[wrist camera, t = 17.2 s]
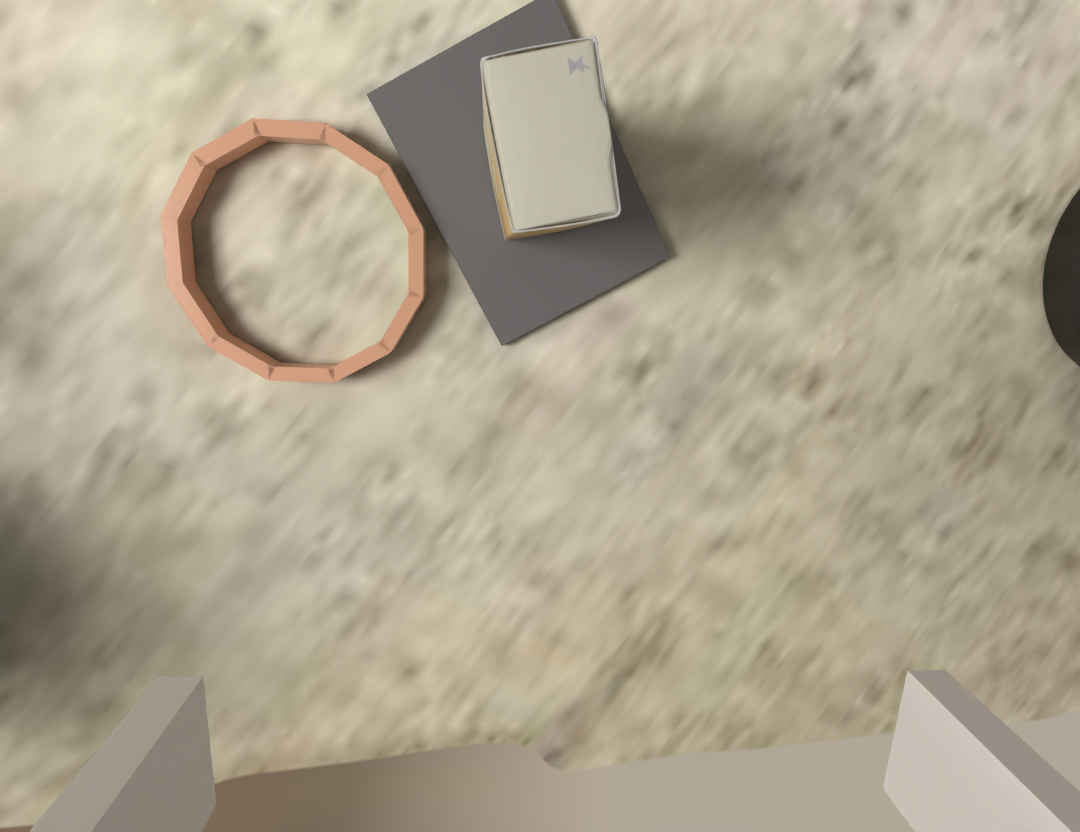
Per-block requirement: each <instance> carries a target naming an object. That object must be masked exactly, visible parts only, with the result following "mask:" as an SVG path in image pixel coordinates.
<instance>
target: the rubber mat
mask: <svg viewBox="0 0 1080 832" xmlns="http://www.w3.org/2000/svg"><path fill="white" fill-rule="evenodd" d="M567 40H573V37H572V35H571V32H570V30H569V28H568V26H567V23H566V21H565V19H564V17H563V14H562V12H561V10H560V8H559V5H558V3H557V1H556V0H534V1H533V2H531V3H529V4H527V5H525V6H524V7H522V8H520V9H518V10H517V11H515V12H513V13H511V14H509V15H508V16H506V17H504V18H502V19H500V20H499V21H497V22H495V23H493V24H491V25H490V26H488V27H486V28H484V29H483V30H481V31H479V32H477V33H475V34H474V35H472V36H470V37H468V38H466V39H465V40H463V41H461V42H459V43H457V44H456V45H454V46H452V47H450V48H449V49H447V50H445V51H443V52H441V53H440V54H438V55H436V56H434V57H432V58H431V59H429V60H427V61H425V62H423V63H422V64H420V65H418V66H416V67H415V68H413V69H411V70H409V71H407V72H406V73H404V74H402V75H400V76H398V77H397V78H395V79H393V80H391V81H389V82H388V83H386V84H384V85H382V86H381V87H379V88H377V89H375V90H373V91H372V92H370V93H368V94H367V96H368V98H369V100H370V101H371V103H372V105H373V107H374V109H375V111H376V113H377V114H378V116H379V118H380V120H381V122H382V124H383V126H384V127H385V129H386V131H387V133H388V135H389V137H390V139H391V140H392V142H393V144H394V146H395V148H396V150H397V152H398V154H399V155H400V157H401V159H402V161H403V163H404V165H405V167H406V168H407V170H408V172H409V174H410V176H411V178H412V180H413V181H414V183H415V185H416V187H417V189H418V191H419V193H420V195H421V196H422V198H423V200H424V202H425V204H426V206H427V208H428V209H429V211H430V213H431V215H432V217H433V219H434V221H435V222H436V224H437V226H438V228H439V230H440V232H441V234H442V235H443V237H444V239H445V241H446V243H447V245H448V247H449V249H450V250H451V252H452V254H453V256H454V258H455V260H456V262H457V263H458V265H459V267H460V269H461V271H462V273H463V275H464V276H465V278H466V280H467V282H468V284H469V286H470V288H471V290H472V291H473V293H474V295H475V297H476V299H477V301H478V303H479V304H480V306H481V308H482V310H483V312H484V314H485V316H486V317H487V319H488V321H489V323H490V325H491V327H492V329H493V330H494V332H495V334H496V336H497V338H498V340H499V342H500V344H501V345H502V346H503V345H504V344H506V343H508V342H510V341H512V340H514V339H516V338H518V337H520V336H521V335H523V334H525V333H527V332H529V331H531V330H533V329H535V328H537V327H538V326H540V325H542V324H544V323H546V322H548V321H550V320H552V319H554V318H555V317H557V316H559V315H561V314H563V313H565V312H567V311H569V310H571V309H572V308H574V307H576V306H578V305H580V304H582V303H584V302H586V301H588V300H589V299H591V298H593V297H595V296H597V295H599V294H601V293H603V292H605V291H606V290H608V289H610V288H612V287H614V286H616V285H618V284H620V283H622V282H623V281H625V280H627V279H629V278H631V277H633V276H635V275H637V274H639V273H640V272H642V271H644V270H646V269H648V268H650V267H652V266H654V265H656V264H657V263H659V262H661V261H663V260H665V259H667V258H669V257H670V256H669V254H668V252H667V250H666V247H665V245H664V243H663V240H662V238H661V236H660V234H659V231H658V229H657V227H656V225H655V222H654V220H653V218H652V216H651V213H650V211H649V209H648V207H647V204H646V202H645V200H644V197H643V195H642V193H641V191H640V188H639V186H638V184H637V182H636V179H635V177H634V175H633V173H632V170H631V168H630V166H629V164H628V161H627V159H626V157H625V155H624V152H623V150H622V148H621V145H620V143H619V141H618V139H617V136H616V134H615V132H614V130H613V127H612V125H611V123H610V121H609V124H610V131H611V138H612V145H613V154H614V160H615V167H616V174H617V182H618V189H619V197H620V205H621V212H620V215H619V216H618V217H616V218H612V219H607V220H604V221H600V222H596V223H592V224H589V225H585V226H582V227H578V228H574V229H569V230H564V231H559V232H554V233H549V234H543V235H537V236H531V237H525V238H519V239H512V240H505V238H504V234H503V230H502V225H501V221H500V216H499V212H498V207H497V203H496V198H495V194H494V189H493V184H492V178H491V172H490V167H489V161H488V155H487V149H486V142H485V136H484V126H483V100H482V79H481V68H480V61H481V59H482V58H483V57H485V56H490V55H494V54H499V53H502V52H506V51H511V50H516V49H521V48H526V47H532V46H537V45H543V44H548V43H554V42H561V41H567Z"/></svg>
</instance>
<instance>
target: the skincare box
mask: <svg viewBox="0 0 1080 832" xmlns="http://www.w3.org/2000/svg"><path fill="white" fill-rule="evenodd" d="M480 68H481V79H482V100H483V126H484V136H485V142H486V149H487V155H488V161H489V167H490V172H491V178H492V184H493V189H494V194H495V198H496V203H497V207H498V212H499V216H500V221H501V225H502V230H503V234H504V238H505V240H512V239H519V238H525V237H531V236H537V235H543V234H549V233H554V232H559V231H564V230H569V229H574V228H578V227H582V226H585V225H589V224H592V223H596V222H600V221H604V220H607V219H612V218H616V217H618V216H619V215H620V212H621V205H620V197H619V189H618V182H617V174H616V167H615V160H614V154H613V145H612V138H611V131H610V124H609V117H608V111H607V104H606V98H605V91H604V84H603V77H602V70H601V63H600V58H599V50H598V42H597V39H596V38H595V37H587V38H581V39H573V40H567V41H561V42H554V43H548V44H543V45H537V46H532V47H526V48H521V49H516V50H511V51H506V52H502V53H499V54H494V55H490V56H485V57H483V58H482V59H481V61H480Z"/></svg>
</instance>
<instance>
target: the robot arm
mask: <svg viewBox="0 0 1080 832" xmlns="http://www.w3.org/2000/svg"><path fill="white" fill-rule="evenodd" d="M1043 297H1044V306H1045V312H1046V316H1047V320H1048V323H1049V326H1050V328H1051V331H1052V333H1053V335H1054V337H1055V339H1056V341H1057V342H1058V344H1059V345H1060V347H1061V348H1062V349H1063V351H1064V352H1065V353H1066V354H1067V355H1068V356H1069V357H1070V358H1071V359H1072V360H1073V361H1074V362H1075V363H1076V364H1078V365H1079V366H1080V189H1079V191H1078V192H1077V193H1076V195H1075V196H1074V197H1073V199H1072V200H1071V202H1070V203H1069V205H1068V206H1067V208H1066V210H1065V211H1064V213H1063V215H1062V217H1061V219H1060V221H1059V223H1058V225H1057V227H1056V230H1055V232H1054V234H1053V237H1052V240H1051V243H1050V246H1049V250H1048V253H1047V257H1046V262H1045V268H1044V277H1043ZM883 789H884V791H885V792H886V793H887V795H888V796H889V797H890V799H891V800H892V801H893V803H894V804H895V805H896V807H897V808H898V809H899V811H900V812H901V813H902V815H903V816H904V818H905V819H906V820H907V821H908V823H909V824H910V826H911V827H912V828H913V830H914V831H915V832H1080V791H1079V790H1078V789H1076V788H1075V787H1074V786H1073V785H1072V784H1071V783H1070V782H1069V781H1067V780H1066V779H1065V778H1064V777H1063V776H1062V775H1061V774H1060V773H1059V772H1058V771H1056V770H1055V769H1054V768H1053V767H1052V766H1051V765H1050V764H1049V763H1048V762H1046V761H1045V760H1044V759H1043V758H1042V757H1041V756H1040V755H1039V754H1038V753H1036V752H1035V751H1034V750H1033V749H1032V748H1031V747H1030V746H1029V745H1027V744H1026V743H1025V742H1024V741H1023V740H1022V739H1021V738H1020V737H1019V736H1018V735H1016V734H1015V733H1014V732H1013V731H1012V730H1011V729H1010V728H1009V727H1008V726H1006V725H1005V724H1004V723H1003V722H1002V721H1001V720H1000V719H999V718H998V717H996V716H995V715H994V714H993V713H992V712H991V711H990V710H989V709H988V708H986V707H985V706H984V705H983V704H982V703H981V702H980V701H979V700H978V699H976V698H975V697H974V696H973V695H972V694H971V693H970V692H969V691H968V690H966V689H965V688H964V687H963V686H962V685H961V684H960V683H959V682H958V681H956V680H955V679H954V678H953V677H952V676H951V675H950V674H949V673H948V672H946V671H945V670H929V671H908V672H907V677H906V681H905V686H904V691H903V696H902V700H901V705H900V710H899V714H898V719H897V724H896V729H895V733H894V738H893V743H892V748H891V752H890V757H889V762H888V766H887V771H886V776H885V781H884V785H883ZM215 806H216V798H215V788H214V779H213V769H212V760H211V750H210V740H209V731H208V721H207V712H206V702H205V692H204V683H203V677H157V678H156V680H155V681H154V682H153V683H152V685H151V686H150V687H149V688H148V689H147V691H146V692H145V693H144V694H143V695H142V697H141V698H140V699H139V700H138V701H137V703H136V704H135V705H134V706H133V707H132V709H131V710H130V711H129V712H128V713H127V715H126V716H125V717H124V718H123V719H122V721H121V722H120V723H119V724H118V725H117V727H116V728H115V729H114V730H113V731H112V733H111V734H110V735H109V736H108V738H107V739H106V740H105V741H104V742H103V744H102V745H101V746H100V747H99V748H98V750H97V751H96V752H95V753H94V754H93V756H92V757H91V758H90V759H89V760H88V762H87V763H86V764H85V765H84V766H83V768H82V769H81V770H80V771H79V772H78V774H77V775H76V776H75V777H74V778H73V780H72V781H71V782H70V783H69V785H68V786H67V787H66V788H65V789H64V791H63V792H62V793H61V794H60V795H59V797H58V798H57V799H56V800H55V801H54V803H53V804H52V805H51V806H50V807H49V809H48V810H47V811H46V812H45V813H44V815H43V816H42V817H41V818H40V819H39V821H38V822H37V823H36V824H35V825H34V827H33V828H32V829H31V830H30V832H202V830H203V828H204V826H205V824H206V822H207V821H208V819H209V817H210V815H211V813H212V811H213V809H214V807H215Z"/></svg>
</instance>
